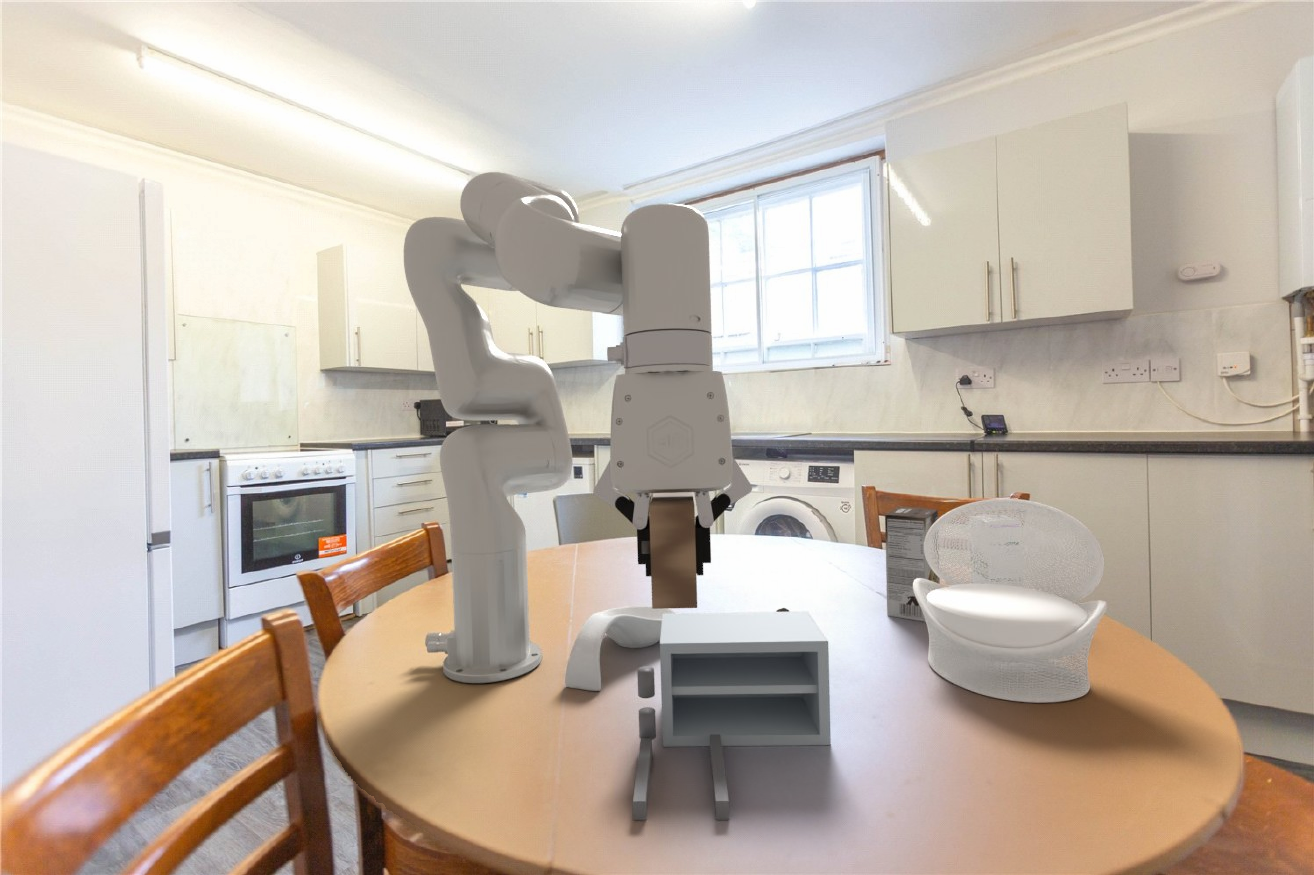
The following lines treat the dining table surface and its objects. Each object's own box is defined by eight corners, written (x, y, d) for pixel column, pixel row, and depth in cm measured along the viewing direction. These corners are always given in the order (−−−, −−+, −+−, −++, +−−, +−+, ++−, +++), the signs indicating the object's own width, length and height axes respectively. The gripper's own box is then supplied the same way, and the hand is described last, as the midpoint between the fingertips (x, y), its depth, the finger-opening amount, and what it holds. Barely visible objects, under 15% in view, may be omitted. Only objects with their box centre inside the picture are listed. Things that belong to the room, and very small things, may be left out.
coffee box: (900, 601, 101) (898, 506, 101) (941, 607, 97) (939, 508, 97) (885, 616, 94) (883, 513, 93) (929, 623, 90) (927, 516, 89)
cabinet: (630, 820, 47) (626, 694, 47) (645, 703, 67) (642, 614, 66) (865, 819, 46) (862, 691, 46) (810, 701, 66) (808, 611, 66)
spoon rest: (617, 623, 94) (616, 578, 94) (688, 630, 91) (687, 583, 90) (540, 687, 72) (538, 628, 72) (630, 699, 68) (628, 637, 68)
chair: (896, 681, 70) (892, 512, 70) (935, 632, 86) (932, 493, 86) (1108, 729, 58) (1105, 525, 58) (1108, 661, 74) (1106, 500, 74)
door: (642, 608, 46) (639, 506, 46) (649, 576, 56) (646, 491, 56) (697, 607, 46) (694, 504, 46) (694, 575, 56) (692, 490, 56)
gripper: (563, 356, 48) (571, 585, 48) (772, 349, 47) (778, 581, 47) (579, 366, 55) (586, 564, 55) (760, 359, 54) (765, 560, 55)
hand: (674, 569), depth 51 cm, fingers closed on door, 3 cm apart
